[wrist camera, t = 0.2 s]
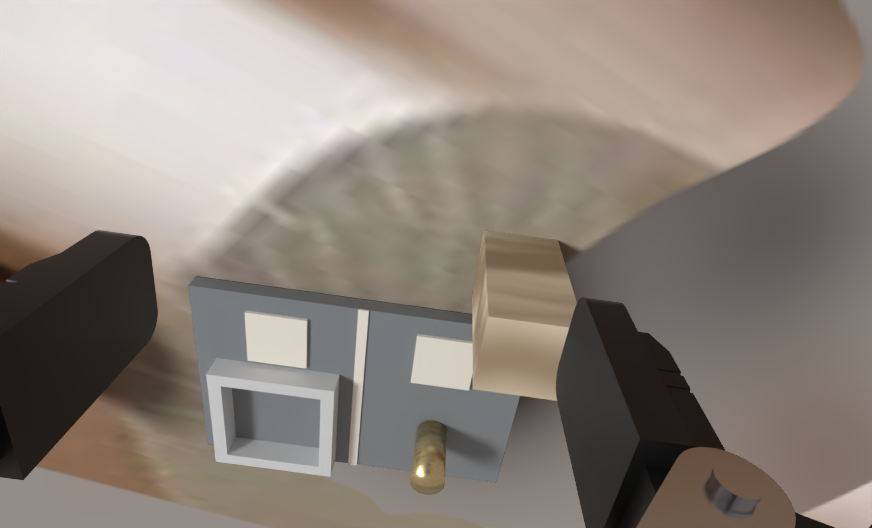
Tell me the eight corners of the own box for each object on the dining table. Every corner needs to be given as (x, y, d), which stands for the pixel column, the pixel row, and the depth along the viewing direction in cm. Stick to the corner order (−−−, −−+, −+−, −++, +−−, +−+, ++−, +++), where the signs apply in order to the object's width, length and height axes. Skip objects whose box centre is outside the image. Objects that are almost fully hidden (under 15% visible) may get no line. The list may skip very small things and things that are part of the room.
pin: (418, 418, 35) (412, 469, 31) (449, 422, 35) (446, 474, 31) (414, 439, 36) (408, 492, 32) (444, 443, 36) (442, 496, 32)
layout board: (196, 276, 31) (175, 300, 29) (535, 323, 32) (540, 350, 30) (214, 433, 38) (198, 462, 36) (495, 470, 38) (497, 501, 36)
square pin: (484, 230, 29) (488, 316, 22) (557, 240, 29) (585, 329, 22) (472, 292, 31) (472, 389, 24) (541, 301, 31) (561, 401, 24)
